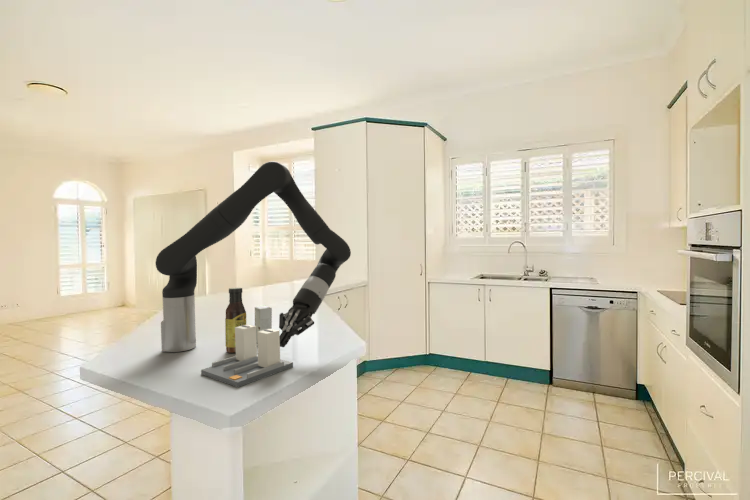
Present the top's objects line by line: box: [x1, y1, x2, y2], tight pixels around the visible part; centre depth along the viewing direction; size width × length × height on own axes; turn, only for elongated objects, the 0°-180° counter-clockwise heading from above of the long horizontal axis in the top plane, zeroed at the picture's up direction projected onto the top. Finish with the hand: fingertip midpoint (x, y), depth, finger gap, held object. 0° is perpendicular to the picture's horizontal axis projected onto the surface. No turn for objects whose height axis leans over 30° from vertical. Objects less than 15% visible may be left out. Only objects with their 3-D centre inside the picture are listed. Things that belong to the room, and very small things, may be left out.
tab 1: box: [235, 324, 258, 361], centre depth 103 cm, size 4×4×9 cm
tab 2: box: [257, 328, 281, 368], centre depth 97 cm, size 4×4×9 cm
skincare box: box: [254, 305, 273, 344], centre depth 127 cm, size 6×4×12 cm
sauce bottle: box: [224, 287, 247, 354], centre depth 117 cm, size 7×6×20 cm
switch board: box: [200, 352, 294, 388], centre depth 98 cm, size 17×16×2 cm
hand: (279, 345), depth 101 cm, fingers closed
